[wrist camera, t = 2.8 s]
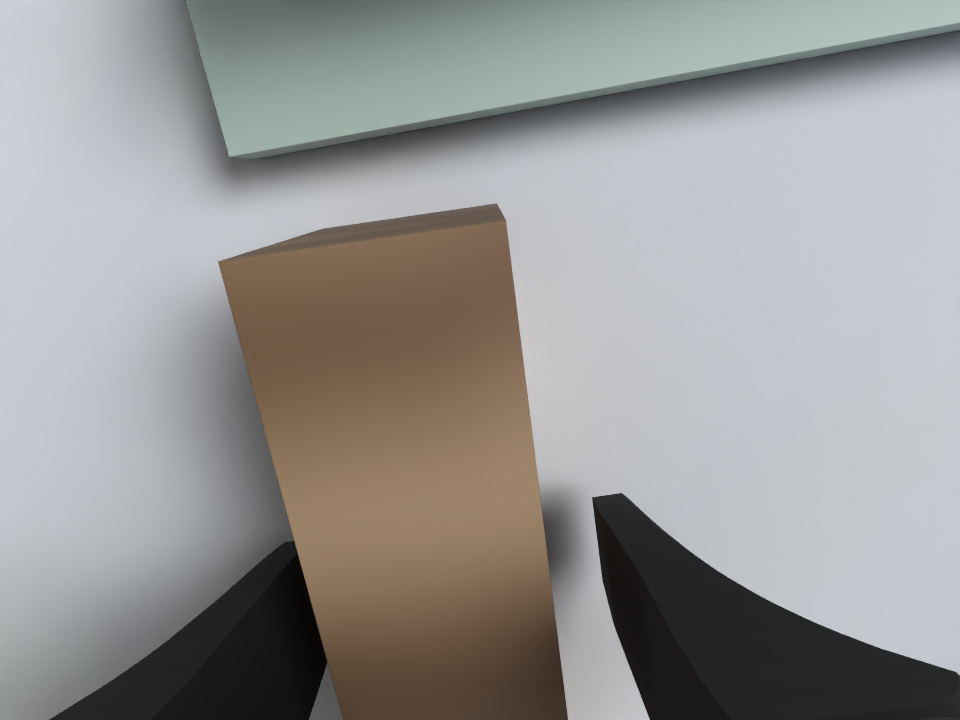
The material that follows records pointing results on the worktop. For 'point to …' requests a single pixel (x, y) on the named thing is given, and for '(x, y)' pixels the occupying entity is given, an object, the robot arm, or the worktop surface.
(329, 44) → the ridge stand
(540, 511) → the walnut bar
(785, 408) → the worktop surface
